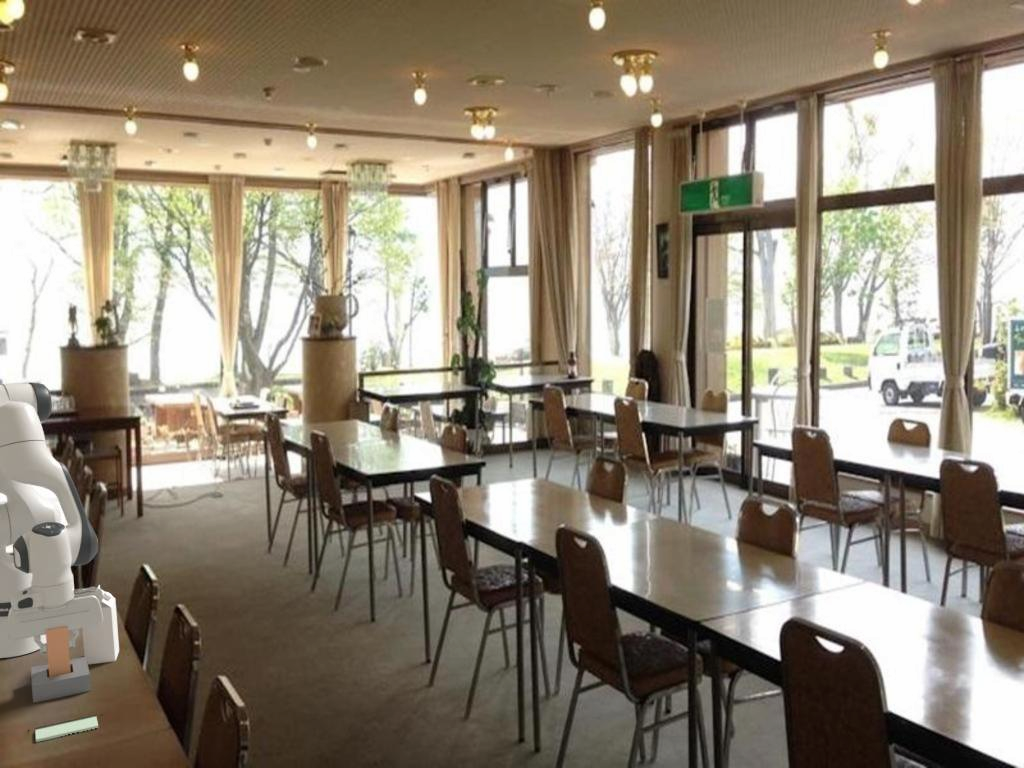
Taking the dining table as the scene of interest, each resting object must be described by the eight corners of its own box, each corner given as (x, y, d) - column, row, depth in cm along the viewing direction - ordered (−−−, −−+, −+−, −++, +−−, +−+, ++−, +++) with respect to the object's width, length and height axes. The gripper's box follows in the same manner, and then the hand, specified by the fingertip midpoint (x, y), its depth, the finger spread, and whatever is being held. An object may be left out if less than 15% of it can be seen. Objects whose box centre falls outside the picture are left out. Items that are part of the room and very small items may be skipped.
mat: (34, 711, 207) (34, 709, 207) (92, 699, 213) (92, 697, 213) (36, 742, 193) (35, 739, 193) (98, 728, 199) (98, 725, 199)
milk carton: (85, 668, 231) (79, 594, 229) (90, 657, 238) (84, 586, 235) (115, 664, 233) (110, 591, 231) (119, 654, 239) (114, 583, 237)
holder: (32, 687, 221) (30, 667, 220) (87, 676, 226) (86, 656, 226) (33, 706, 210) (31, 685, 210) (91, 694, 216) (89, 674, 215)
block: (49, 673, 219) (45, 624, 217) (69, 668, 221) (66, 620, 220) (49, 680, 215) (45, 630, 213) (71, 675, 217) (67, 626, 216)
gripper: (100, 581, 223) (104, 636, 225) (4, 596, 214) (9, 653, 215) (103, 588, 218) (107, 645, 219) (4, 604, 208) (9, 663, 210)
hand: (57, 649), depth 217 cm, fingers closed on block, 4 cm apart
